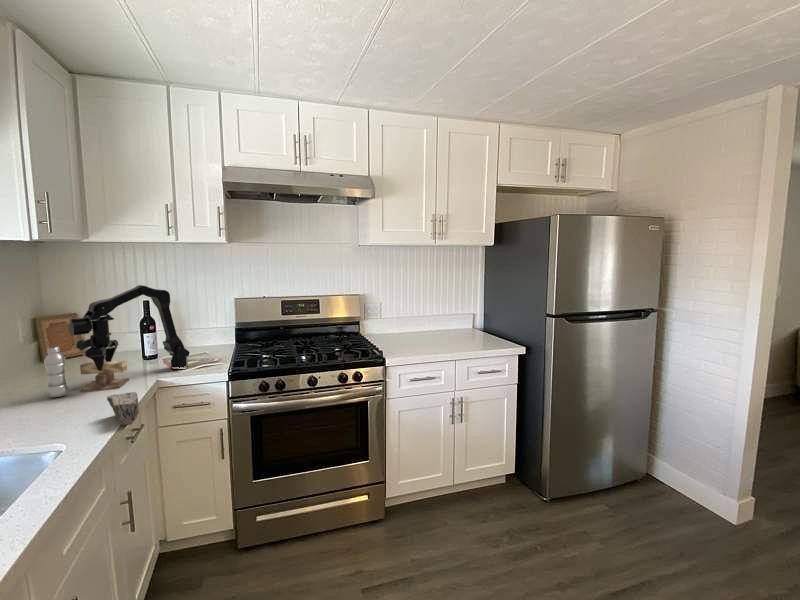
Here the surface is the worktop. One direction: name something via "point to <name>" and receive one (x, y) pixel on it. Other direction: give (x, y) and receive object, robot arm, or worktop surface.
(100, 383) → the walnut board
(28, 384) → the worktop surface
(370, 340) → the worktop surface
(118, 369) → the oak bar
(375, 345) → the worktop surface
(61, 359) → the plastic bottle
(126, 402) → the stone block
